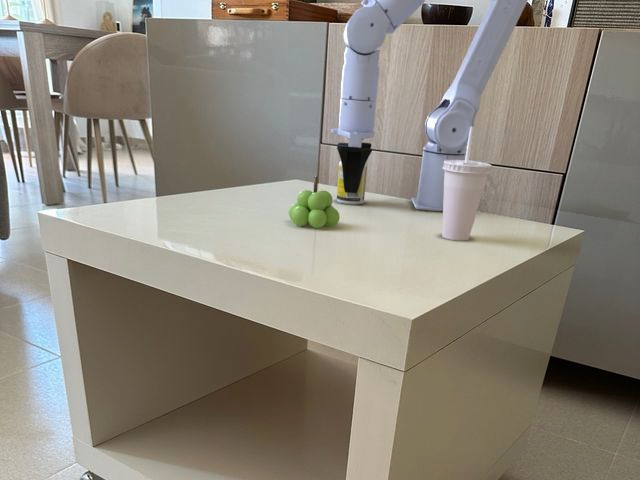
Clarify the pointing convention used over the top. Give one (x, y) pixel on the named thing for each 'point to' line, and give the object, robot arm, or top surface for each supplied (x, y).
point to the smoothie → (462, 193)
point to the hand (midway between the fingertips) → (351, 190)
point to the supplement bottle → (351, 197)
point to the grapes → (314, 208)
